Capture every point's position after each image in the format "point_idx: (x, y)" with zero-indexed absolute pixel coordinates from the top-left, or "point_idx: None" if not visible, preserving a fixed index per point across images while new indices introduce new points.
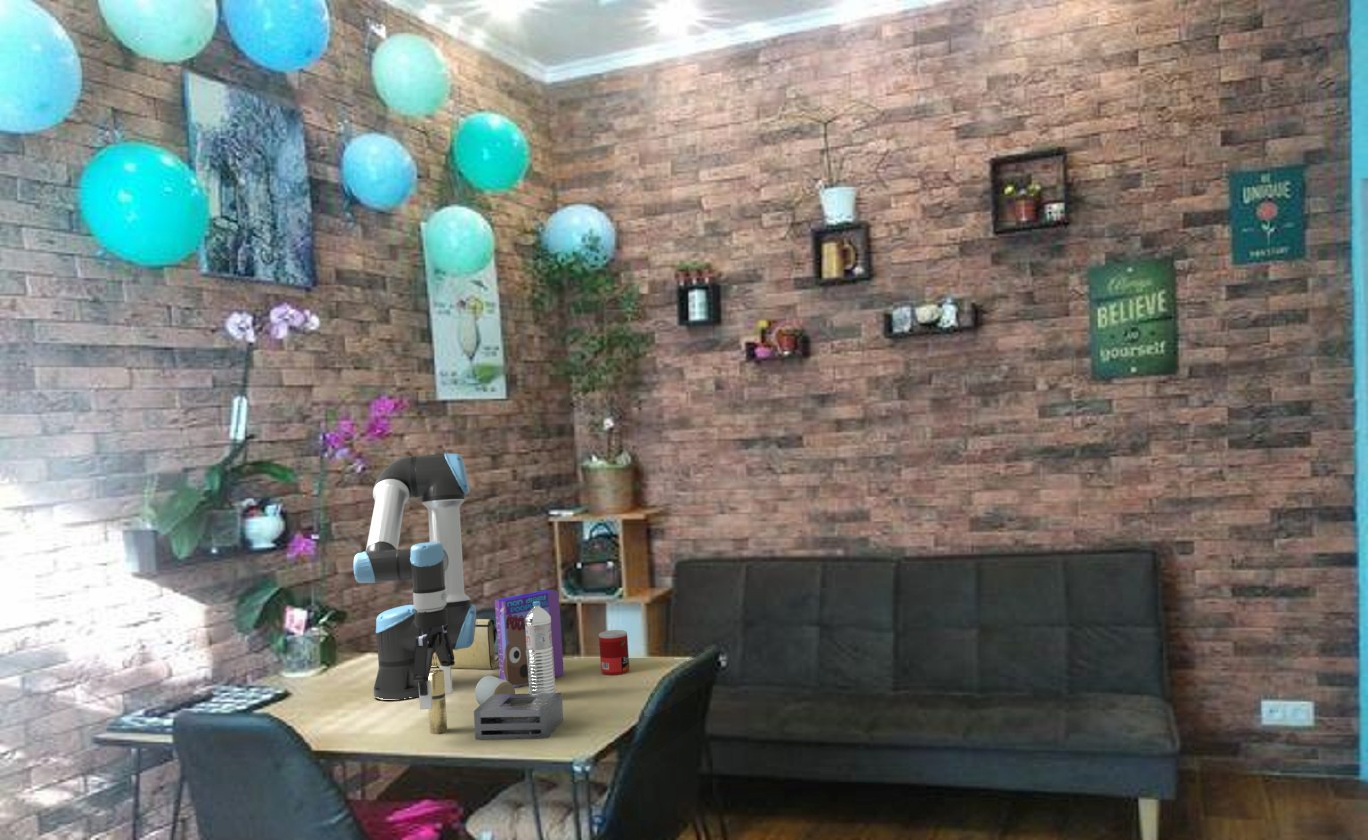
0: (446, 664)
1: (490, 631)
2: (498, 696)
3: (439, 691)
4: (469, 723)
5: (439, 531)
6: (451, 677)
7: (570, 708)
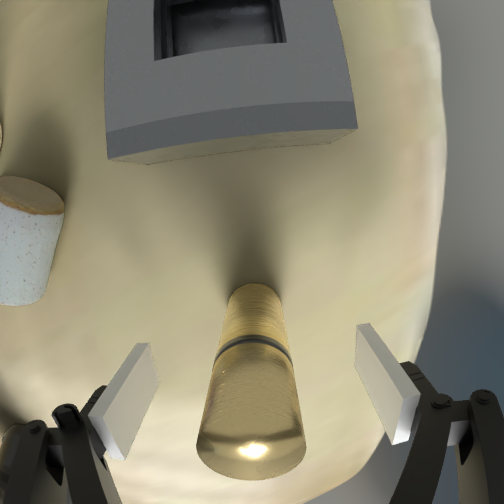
0: (94, 439)
1: None
2: (136, 115)
3: (279, 359)
4: (173, 243)
5: None
6: (112, 379)
7: (57, 22)
